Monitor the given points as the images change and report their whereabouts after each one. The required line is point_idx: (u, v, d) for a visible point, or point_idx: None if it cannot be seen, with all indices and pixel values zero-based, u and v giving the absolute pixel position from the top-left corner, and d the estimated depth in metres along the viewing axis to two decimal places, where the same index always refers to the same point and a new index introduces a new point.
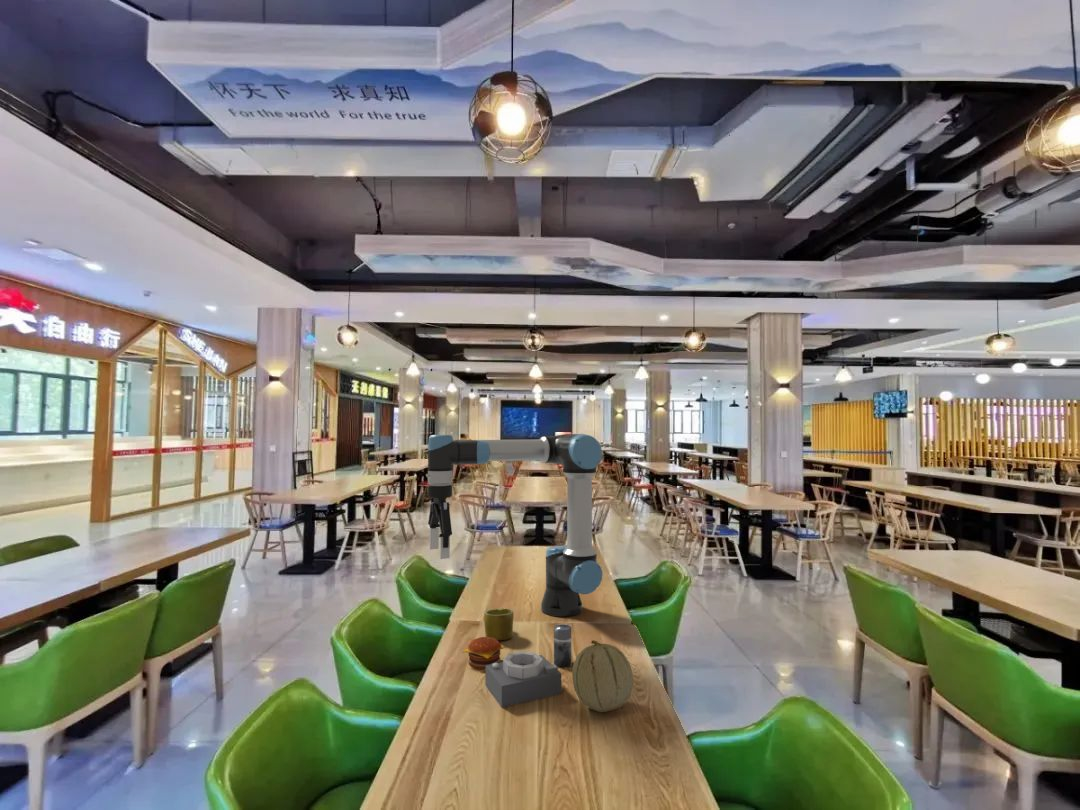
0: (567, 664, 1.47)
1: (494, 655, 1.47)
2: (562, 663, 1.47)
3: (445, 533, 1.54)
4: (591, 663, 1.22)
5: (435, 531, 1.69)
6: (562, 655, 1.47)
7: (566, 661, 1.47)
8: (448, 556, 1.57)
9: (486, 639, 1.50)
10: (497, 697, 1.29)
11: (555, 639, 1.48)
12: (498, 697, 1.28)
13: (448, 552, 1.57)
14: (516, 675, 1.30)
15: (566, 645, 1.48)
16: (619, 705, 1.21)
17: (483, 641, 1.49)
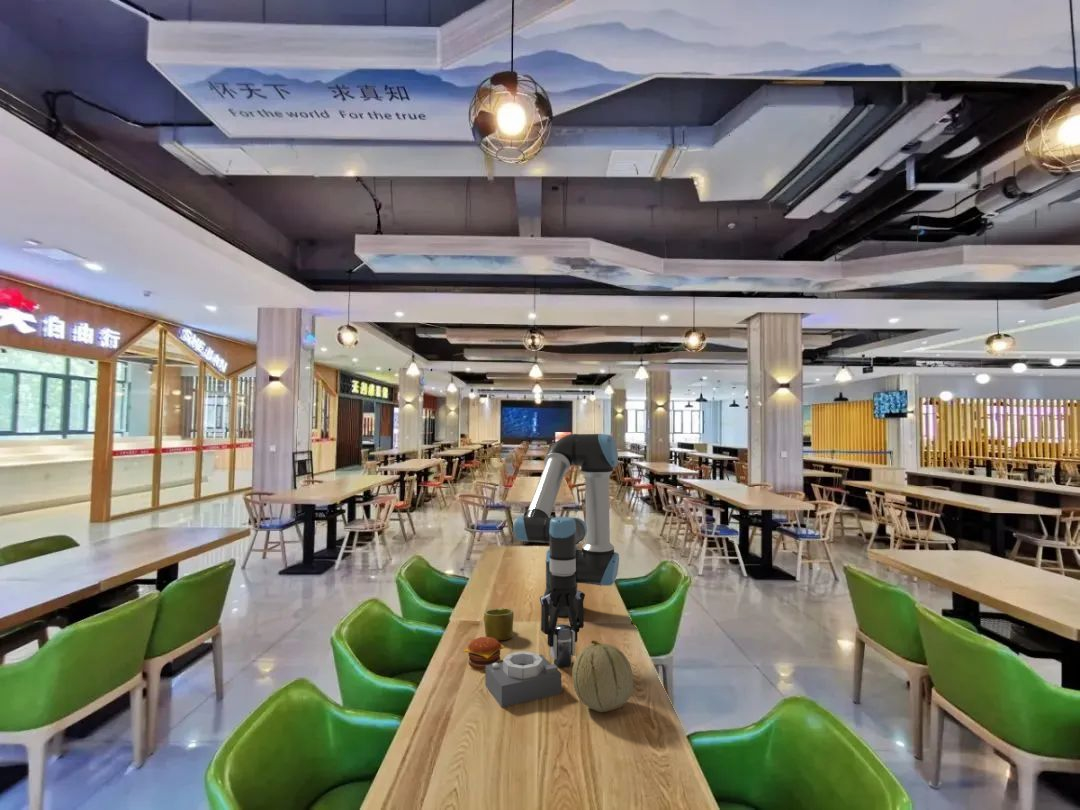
0: (567, 664, 1.47)
1: (494, 655, 1.47)
2: (562, 663, 1.47)
3: (541, 630, 1.48)
4: (591, 663, 1.22)
5: None
6: (562, 655, 1.47)
7: (566, 661, 1.47)
8: (553, 657, 1.47)
9: (486, 639, 1.51)
10: (497, 697, 1.29)
11: None
12: (498, 697, 1.28)
13: (553, 652, 1.47)
14: (516, 675, 1.30)
15: (566, 645, 1.48)
16: (619, 705, 1.21)
17: (483, 641, 1.49)
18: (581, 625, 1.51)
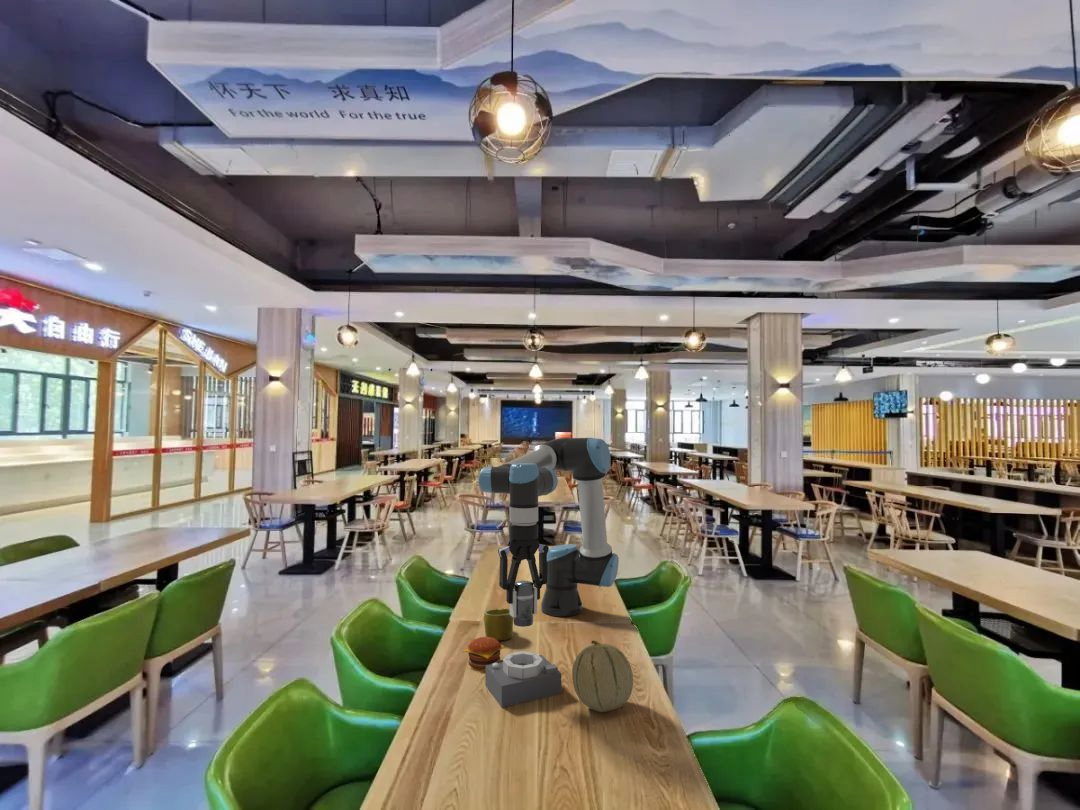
0: (528, 623, 1.33)
1: (494, 655, 1.47)
2: (522, 621, 1.33)
3: (500, 585, 1.34)
4: (591, 663, 1.22)
5: None
6: (523, 612, 1.33)
7: (527, 619, 1.33)
8: (513, 615, 1.33)
9: (486, 639, 1.50)
10: (497, 697, 1.29)
11: None
12: (498, 697, 1.28)
13: (513, 610, 1.33)
14: (516, 675, 1.30)
15: (527, 602, 1.34)
16: (619, 705, 1.21)
17: (483, 641, 1.49)
18: (544, 581, 1.37)
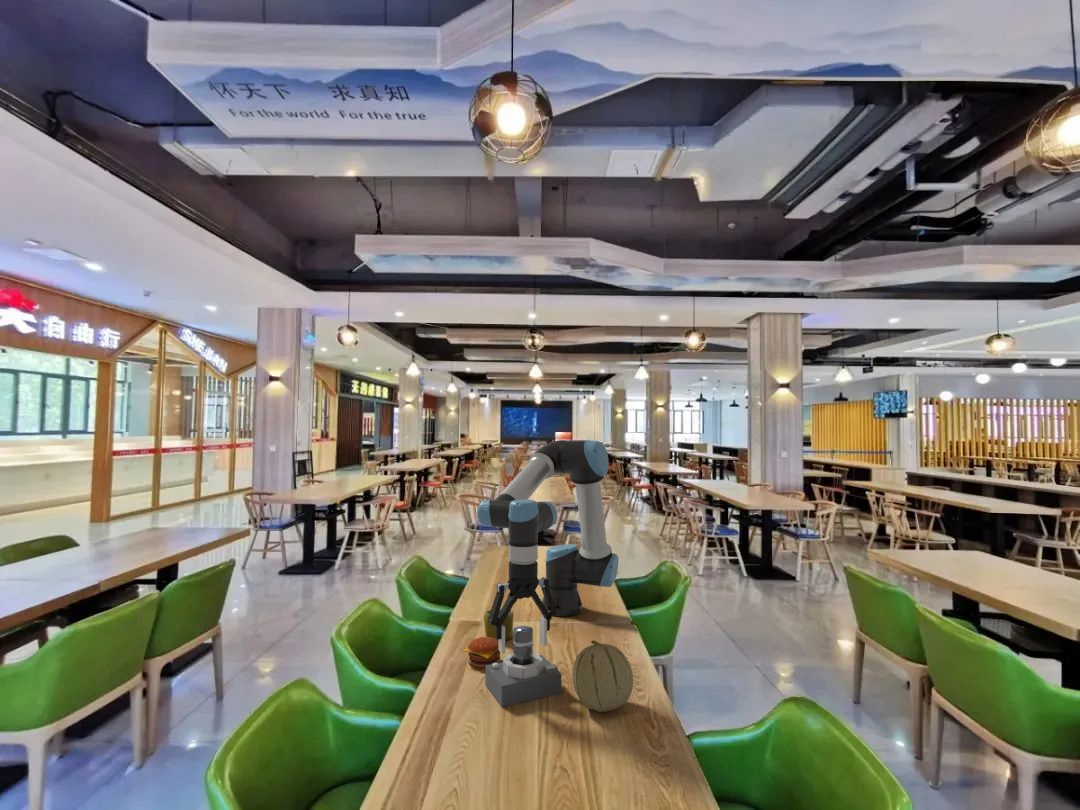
0: None
1: (494, 655, 1.47)
2: None
3: (488, 620, 1.32)
4: (591, 663, 1.22)
5: (542, 622, 1.37)
6: (522, 660, 1.33)
7: None
8: (501, 651, 1.32)
9: (486, 639, 1.50)
10: (497, 697, 1.29)
11: (514, 642, 1.34)
12: (498, 697, 1.28)
13: (501, 646, 1.32)
14: (516, 675, 1.30)
15: (527, 649, 1.33)
16: (619, 705, 1.21)
17: (483, 641, 1.49)
18: (554, 612, 1.38)
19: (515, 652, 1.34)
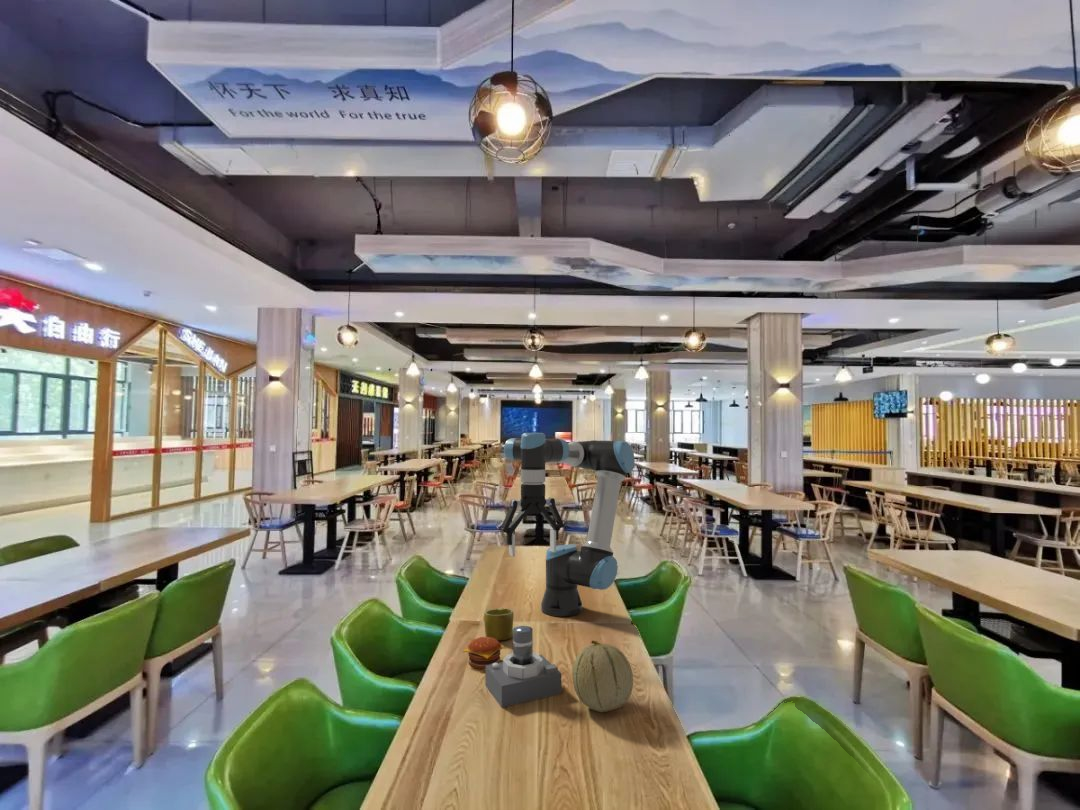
0: None
1: (494, 655, 1.47)
2: None
3: (501, 529, 1.57)
4: (591, 663, 1.22)
5: (552, 533, 1.63)
6: (522, 660, 1.33)
7: None
8: (512, 554, 1.56)
9: (486, 639, 1.50)
10: (497, 697, 1.29)
11: (514, 643, 1.34)
12: (498, 697, 1.28)
13: (512, 550, 1.56)
14: (516, 675, 1.30)
15: (527, 649, 1.33)
16: (619, 705, 1.21)
17: (483, 641, 1.49)
18: (562, 525, 1.63)
19: (515, 652, 1.33)
